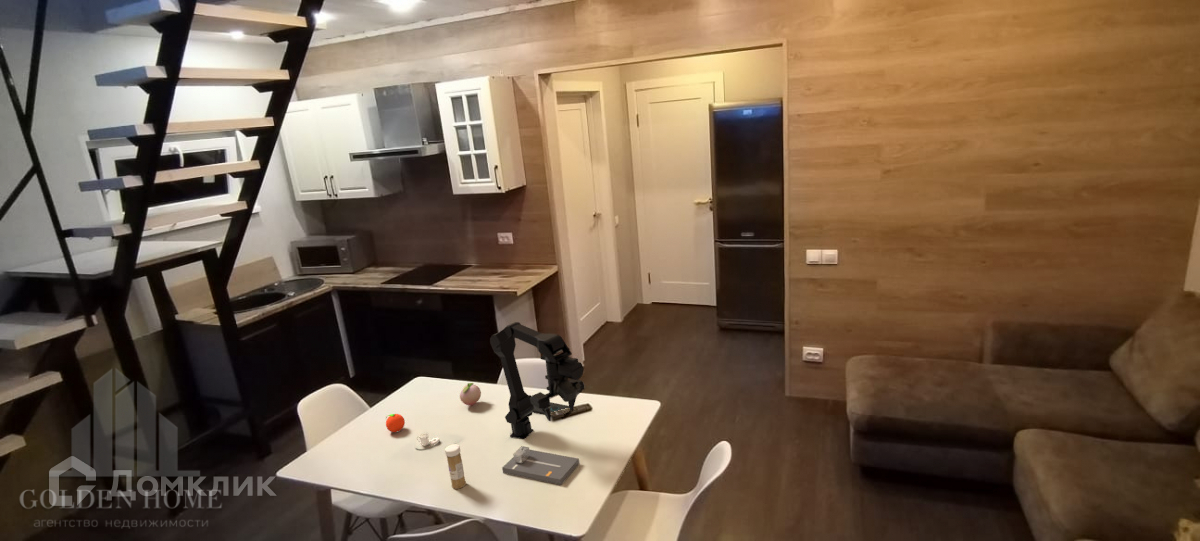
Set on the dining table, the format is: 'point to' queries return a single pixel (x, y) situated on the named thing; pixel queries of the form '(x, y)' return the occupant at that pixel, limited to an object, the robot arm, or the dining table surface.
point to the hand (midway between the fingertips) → (560, 415)
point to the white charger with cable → (427, 439)
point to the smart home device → (552, 408)
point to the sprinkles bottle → (455, 466)
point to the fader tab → (521, 454)
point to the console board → (543, 467)
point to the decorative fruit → (470, 394)
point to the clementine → (395, 422)
